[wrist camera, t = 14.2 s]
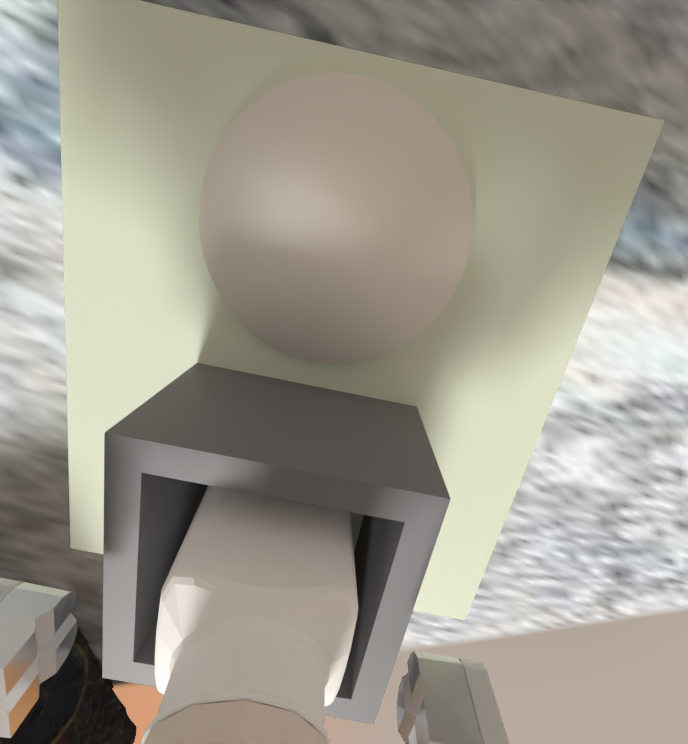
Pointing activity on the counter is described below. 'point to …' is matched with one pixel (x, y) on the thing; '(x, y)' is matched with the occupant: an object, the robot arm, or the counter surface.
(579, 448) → the counter surface
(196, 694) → the salt shaker
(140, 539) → the cream holder tray
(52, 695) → the candle
